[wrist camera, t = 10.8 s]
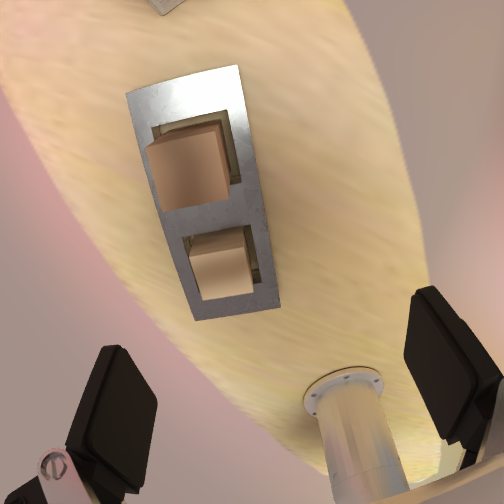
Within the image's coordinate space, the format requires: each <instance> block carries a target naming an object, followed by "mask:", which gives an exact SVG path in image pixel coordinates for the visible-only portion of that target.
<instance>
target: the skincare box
mask: <svg viewBox="0 0 504 504" xmlns="http://www.w3.org/2000/svg"><path fill="white" fill-rule="evenodd" d="M147 1H148V2H149V3H150V4H151V5H152V6H153V7H154V8H155V9H156V11H157V12H158V13H159V14H160V15H165V14H166V13H168V12H169V11H171V10H172V9H173V8H174V7H176V6H177V5H179V4H180V3H182V2H183V1H185V0H147Z"/></svg>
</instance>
